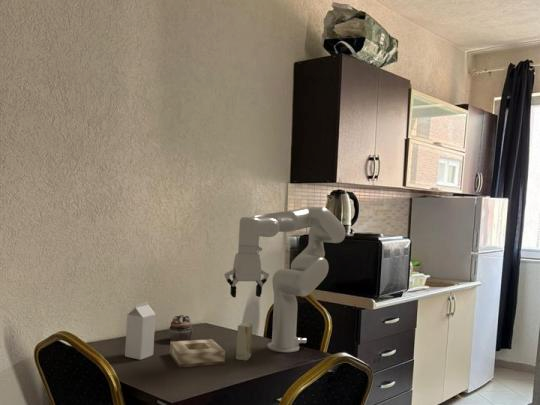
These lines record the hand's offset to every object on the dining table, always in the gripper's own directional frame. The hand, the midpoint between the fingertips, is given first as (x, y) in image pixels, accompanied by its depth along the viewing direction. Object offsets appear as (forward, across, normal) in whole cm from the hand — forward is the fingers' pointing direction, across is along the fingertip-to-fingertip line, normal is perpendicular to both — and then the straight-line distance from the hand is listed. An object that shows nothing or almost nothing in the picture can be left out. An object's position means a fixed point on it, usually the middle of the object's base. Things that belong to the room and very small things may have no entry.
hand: (245, 296), depth 179 cm
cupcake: (+23, +17, -28) cm, 40 cm away
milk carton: (+23, +36, -10) cm, 44 cm away
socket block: (+22, +17, -3) cm, 28 cm away
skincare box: (+23, 0, 0) cm, 23 cm away
